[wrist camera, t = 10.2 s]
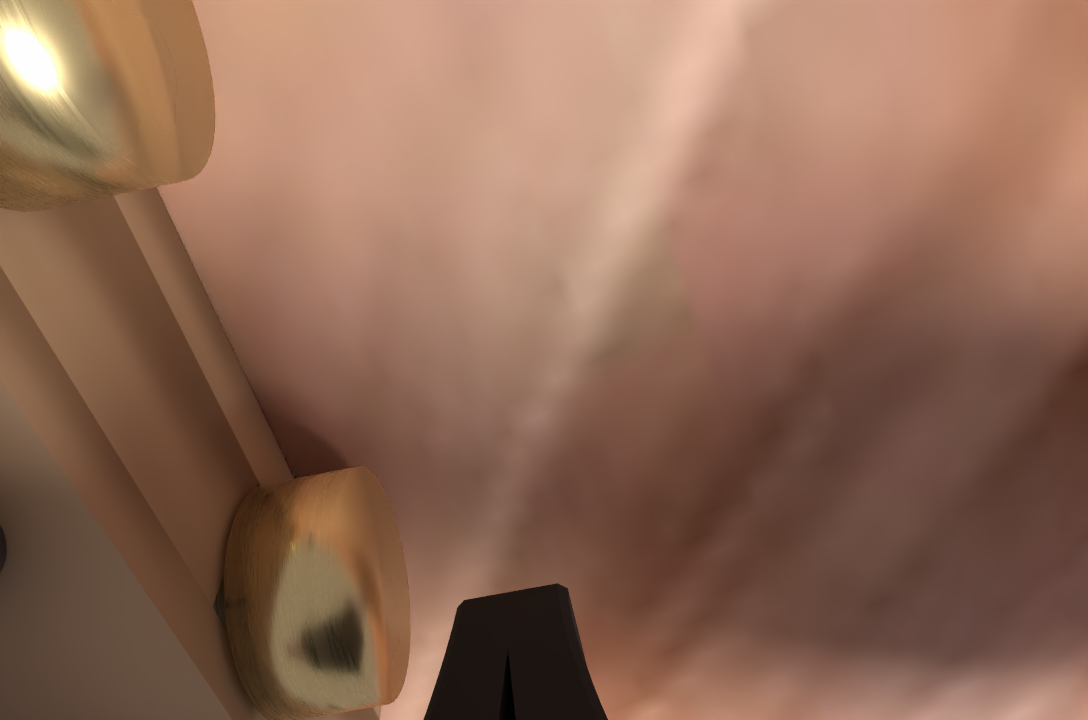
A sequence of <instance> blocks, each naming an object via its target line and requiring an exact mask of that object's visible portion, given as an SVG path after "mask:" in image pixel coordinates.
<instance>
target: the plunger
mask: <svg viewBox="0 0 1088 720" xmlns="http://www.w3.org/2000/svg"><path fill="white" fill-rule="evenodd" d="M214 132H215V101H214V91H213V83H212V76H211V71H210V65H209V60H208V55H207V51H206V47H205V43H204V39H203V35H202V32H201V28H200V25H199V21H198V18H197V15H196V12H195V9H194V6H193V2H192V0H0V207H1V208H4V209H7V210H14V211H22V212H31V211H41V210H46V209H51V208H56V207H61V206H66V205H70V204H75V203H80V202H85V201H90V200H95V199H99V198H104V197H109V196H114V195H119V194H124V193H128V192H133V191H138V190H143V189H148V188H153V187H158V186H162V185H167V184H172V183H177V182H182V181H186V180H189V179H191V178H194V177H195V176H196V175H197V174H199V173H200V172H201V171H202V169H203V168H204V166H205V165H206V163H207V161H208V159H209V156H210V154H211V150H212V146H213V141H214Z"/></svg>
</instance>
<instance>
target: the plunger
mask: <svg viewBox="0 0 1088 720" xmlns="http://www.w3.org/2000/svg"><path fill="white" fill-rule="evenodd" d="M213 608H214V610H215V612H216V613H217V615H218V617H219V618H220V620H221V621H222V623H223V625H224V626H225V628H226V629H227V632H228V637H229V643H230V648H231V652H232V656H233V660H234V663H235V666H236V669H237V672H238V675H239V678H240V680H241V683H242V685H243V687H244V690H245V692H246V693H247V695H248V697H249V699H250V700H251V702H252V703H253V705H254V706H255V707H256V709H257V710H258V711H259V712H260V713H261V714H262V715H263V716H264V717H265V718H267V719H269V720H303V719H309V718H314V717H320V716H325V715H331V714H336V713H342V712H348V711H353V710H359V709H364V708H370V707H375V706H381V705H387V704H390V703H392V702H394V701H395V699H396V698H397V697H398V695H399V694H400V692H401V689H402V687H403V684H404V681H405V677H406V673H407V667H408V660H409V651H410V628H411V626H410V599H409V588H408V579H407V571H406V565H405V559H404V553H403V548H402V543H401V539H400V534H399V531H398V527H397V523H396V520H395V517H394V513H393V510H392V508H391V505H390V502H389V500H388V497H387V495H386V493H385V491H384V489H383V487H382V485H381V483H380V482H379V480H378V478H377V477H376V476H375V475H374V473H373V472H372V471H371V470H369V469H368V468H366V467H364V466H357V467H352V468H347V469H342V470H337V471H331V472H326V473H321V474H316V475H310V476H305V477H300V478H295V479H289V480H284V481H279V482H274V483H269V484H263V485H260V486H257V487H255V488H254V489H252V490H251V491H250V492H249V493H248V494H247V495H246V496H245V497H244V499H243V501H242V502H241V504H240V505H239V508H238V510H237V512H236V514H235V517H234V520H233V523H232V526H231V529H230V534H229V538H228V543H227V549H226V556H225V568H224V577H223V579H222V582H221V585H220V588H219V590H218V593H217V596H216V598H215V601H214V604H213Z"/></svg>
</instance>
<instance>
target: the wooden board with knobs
mask: <svg viewBox="0 0 1088 720" xmlns="http://www.w3.org/2000/svg"><path fill="white" fill-rule="evenodd" d="M289 479H294V477H293V475H292V473H291V471H290V469H289V467H288V465H287V463H286V461H285V458H284V456H283V454H282V452H281V450H280V448H279V446H278V444H277V441H276V439H275V437H274V435H273V433H272V431H271V429H270V427H269V425H268V422H267V420H266V418H265V416H264V414H263V412H262V410H261V408H260V406H259V403H258V401H257V399H256V397H255V395H254V393H253V391H252V389H251V387H250V384H249V382H248V380H247V378H246V376H245V374H244V372H243V370H242V367H241V365H240V363H239V361H238V359H237V357H236V355H235V353H234V351H233V348H232V346H231V344H230V342H229V340H228V338H227V336H226V334H225V332H224V329H223V327H222V325H221V323H220V321H219V319H218V317H217V315H216V313H215V310H214V308H213V306H212V304H211V302H210V300H209V298H208V296H207V293H206V291H205V289H204V287H203V285H202V283H201V281H200V279H199V277H198V274H197V272H196V270H195V268H194V266H193V264H192V262H191V260H190V258H189V255H188V253H187V251H186V249H185V247H184V245H183V243H182V241H181V238H180V236H179V234H178V232H177V230H176V228H175V226H174V224H173V222H172V219H171V217H170V215H169V213H168V211H167V209H166V207H165V205H164V203H163V200H162V198H161V196H160V194H159V192H158V190H157V188H156V187H153V188H148V189H143V190H138V191H133V192H128V193H124V194H119V195H114V196H109V197H104V198H99V199H95V200H90V201H85V202H80V203H75V204H70V205H66V206H61V207H56V208H51V209H46V210H41V211H31V212H22V211H14V210H7V209H4V208H1V207H0V720H269V719H267V718H265V717H264V716H263V715H262V714H261V713H260V712H259V711H258V710H257V709H256V707H255V706H254V705H253V703H252V702H251V700H250V699H249V697H248V695H247V693H246V692H245V690H244V687H243V685H242V683H241V680H240V678H239V675H238V672H237V669H236V666H235V663H234V660H233V656H232V652H231V648H230V643H229V637H228V632H227V629H226V628H225V626H224V625H223V623H222V621H221V620H220V618H219V617H218V615H217V613H216V612H215V610H214V608H213V604H214V601H215V598H216V596H217V593H218V590H219V588H220V585H221V582H222V579H223V577H224V568H225V556H226V549H227V543H228V538H229V534H230V529H231V526H232V523H233V520H234V517H235V514H236V512H237V510H238V508H239V505H240V504H241V502H242V501H243V499H244V497H245V496H246V495H247V494H248V493H249V492H250V491H251V490H252V489H254V488H255V487H257V486H260V485H263V484H269V483H274V482H279V481H284V480H289ZM380 712H381V706H375V707H370V708H364V709H359V710H353V711H348V712H342V713H336V714H331V715H325V716H320V717H314V718H309V719H303V720H380Z"/></svg>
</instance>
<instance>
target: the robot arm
mask: <svg viewBox="0 0 1088 720" xmlns="http://www.w3.org/2000/svg"><path fill="white" fill-rule="evenodd" d="M424 720H608V719H607V716H606V714H605V712H604V710H603V707H602V705H601V703H600V700H599V698H598V695H597V693H596V690H595V688H594V685H593V682H592V680H591V677H590V674H589V671H588V668H587V665H586V661H585V657H584V653H583V649H582V645H581V641H580V637H579V632H578V628H577V624H576V620H575V616H574V612H573V608H572V604H571V600H570V596H569V592H568V588H566V587H564V586H562V585H560V584H552V585H547V586H541V587H535V588H530V589H524V590H519V591H513V592H507V593H502V594H496V595H491V596H485V597H479V598H474V599H468V600H464V601H463V602H462V603H461V604H460V605H459V606H458V608H457V611H456V615H455V620H454V624H453V628H452V631H451V635H450V639H449V642H448V646H447V649H446V653H445V656H444V659H443V663H442V666H441V669H440V672H439V676H438V679H437V682H436V685H435V688H434V691H433V694H432V697H431V700H430V703H429V706H428V709H427V712H426V714H425V717H424Z"/></svg>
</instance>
